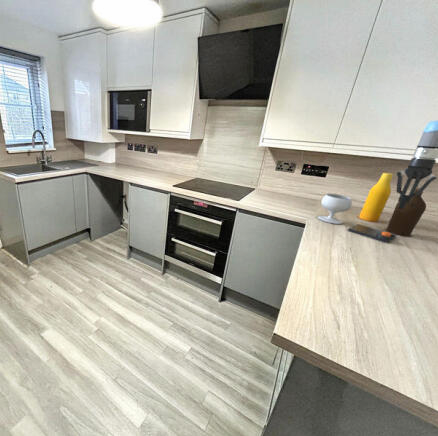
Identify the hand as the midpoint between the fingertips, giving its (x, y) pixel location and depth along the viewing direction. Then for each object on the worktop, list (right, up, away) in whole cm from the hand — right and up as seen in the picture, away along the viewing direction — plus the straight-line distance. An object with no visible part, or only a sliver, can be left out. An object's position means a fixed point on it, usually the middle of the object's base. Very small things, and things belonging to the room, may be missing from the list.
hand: (400, 208), depth 113 cm
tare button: (-3, -13, +4) cm, 14 cm away
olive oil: (+16, -13, +17) cm, 27 cm away
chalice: (-12, -6, +29) cm, 32 cm away
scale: (-2, -13, +12) cm, 18 cm away
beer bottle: (+18, -5, +35) cm, 40 cm away
